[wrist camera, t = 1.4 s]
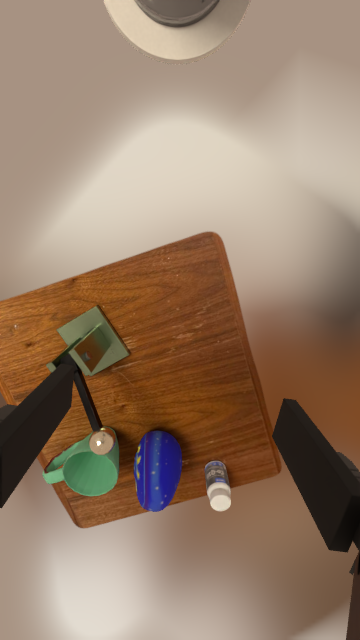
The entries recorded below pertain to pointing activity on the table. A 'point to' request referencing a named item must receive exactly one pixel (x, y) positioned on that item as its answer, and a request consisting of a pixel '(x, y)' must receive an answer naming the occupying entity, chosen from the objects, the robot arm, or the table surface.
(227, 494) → the pill bottle
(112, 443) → the lever
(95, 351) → the bracket
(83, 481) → the mug
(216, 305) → the table surface
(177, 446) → the ornament
